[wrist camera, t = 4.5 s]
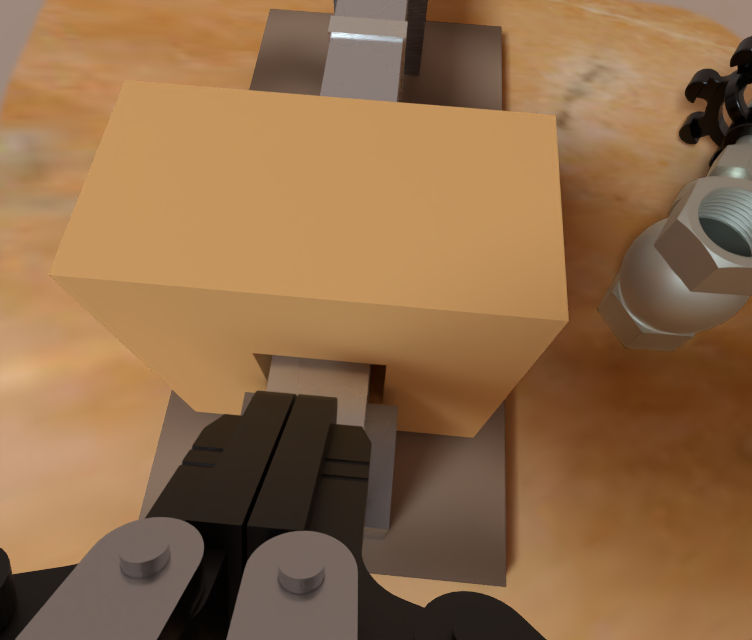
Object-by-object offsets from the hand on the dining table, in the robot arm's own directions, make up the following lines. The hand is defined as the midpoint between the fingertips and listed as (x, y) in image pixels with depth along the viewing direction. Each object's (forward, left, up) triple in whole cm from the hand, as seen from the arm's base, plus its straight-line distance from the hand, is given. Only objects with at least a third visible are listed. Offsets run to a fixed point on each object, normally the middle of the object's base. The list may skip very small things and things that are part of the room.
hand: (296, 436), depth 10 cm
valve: (-18, +1, -10) cm, 21 cm away
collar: (-3, -3, -8) cm, 9 cm away
